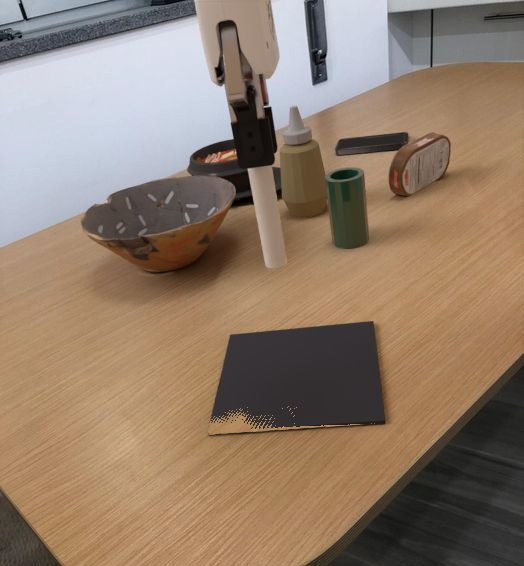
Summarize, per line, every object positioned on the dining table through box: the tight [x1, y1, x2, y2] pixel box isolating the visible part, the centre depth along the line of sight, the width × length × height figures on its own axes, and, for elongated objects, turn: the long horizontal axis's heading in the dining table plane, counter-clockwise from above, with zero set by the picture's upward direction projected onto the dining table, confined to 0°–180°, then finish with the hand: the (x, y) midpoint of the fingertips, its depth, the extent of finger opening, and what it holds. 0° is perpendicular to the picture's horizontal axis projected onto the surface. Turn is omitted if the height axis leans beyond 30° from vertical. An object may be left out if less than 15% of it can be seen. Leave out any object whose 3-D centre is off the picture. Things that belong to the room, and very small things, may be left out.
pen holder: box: [325, 167, 370, 250], centre depth 89 cm, size 6×6×11 cm
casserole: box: [186, 138, 282, 202], centre depth 118 cm, size 25×19×8 cm
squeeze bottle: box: [279, 105, 328, 219], centre depth 100 cm, size 8×8×18 cm
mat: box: [209, 320, 386, 429], centre depth 68 cm, size 18×18×1 cm
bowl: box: [79, 175, 236, 273], centre depth 96 cm, size 25×25×10 cm
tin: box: [388, 132, 452, 197], centre depth 103 cm, size 15×3×8 cm, turn 133°
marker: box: [248, 91, 288, 270], centre depth 55 cm, size 2×2×16 cm
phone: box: [334, 131, 410, 156], centre depth 128 cm, size 8×1×15 cm
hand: (258, 158), depth 54 cm, fingers closed on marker, 2 cm apart
